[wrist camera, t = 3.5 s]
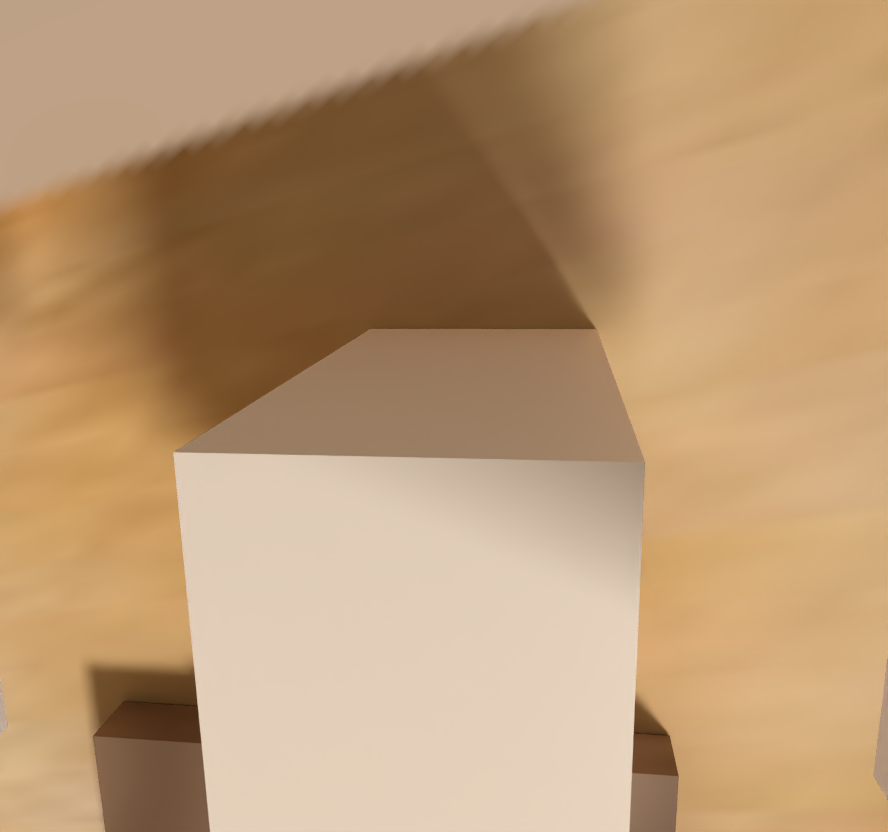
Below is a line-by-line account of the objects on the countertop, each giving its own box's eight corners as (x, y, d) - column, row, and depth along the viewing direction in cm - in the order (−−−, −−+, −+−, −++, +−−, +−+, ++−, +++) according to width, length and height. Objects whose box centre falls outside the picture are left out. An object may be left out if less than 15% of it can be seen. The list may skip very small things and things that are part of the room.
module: (366, 328, 19) (164, 451, 9) (596, 328, 18) (644, 461, 8) (378, 639, 20) (220, 1020, 11) (587, 650, 20) (619, 1065, 10)
